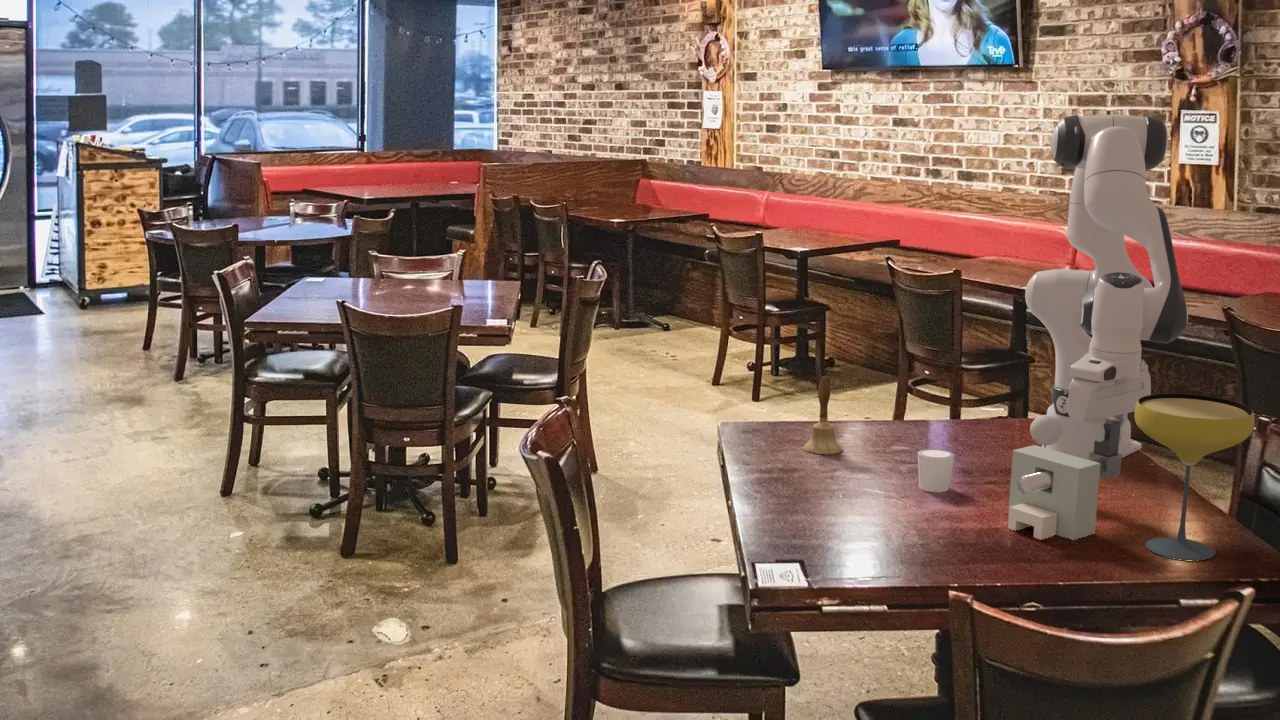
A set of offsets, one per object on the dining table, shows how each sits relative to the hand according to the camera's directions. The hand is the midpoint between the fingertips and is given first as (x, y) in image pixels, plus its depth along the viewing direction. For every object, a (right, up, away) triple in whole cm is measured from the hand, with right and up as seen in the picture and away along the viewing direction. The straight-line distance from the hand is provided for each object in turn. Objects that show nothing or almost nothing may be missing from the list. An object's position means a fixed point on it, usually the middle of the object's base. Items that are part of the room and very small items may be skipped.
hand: (1107, 438), depth 230 cm
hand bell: (-46, -5, +42) cm, 62 cm away
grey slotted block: (-12, -15, -5) cm, 20 cm away
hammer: (-9, -8, -5) cm, 12 cm away
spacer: (-16, -16, -8) cm, 24 cm away
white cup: (-28, -11, +16) cm, 34 cm away
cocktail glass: (+6, -18, -17) cm, 25 cm away
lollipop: (-7, -11, +15) cm, 20 cm away
